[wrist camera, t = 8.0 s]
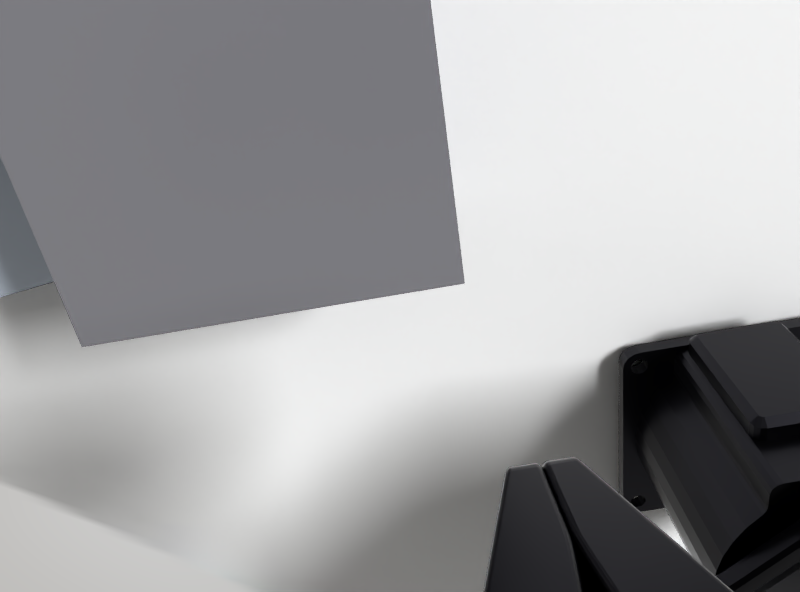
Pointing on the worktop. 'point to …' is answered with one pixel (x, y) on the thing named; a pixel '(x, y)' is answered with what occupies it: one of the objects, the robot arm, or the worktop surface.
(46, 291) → the worktop surface
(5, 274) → the door
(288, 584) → the worktop surface
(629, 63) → the worktop surface
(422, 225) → the cabinet housing
